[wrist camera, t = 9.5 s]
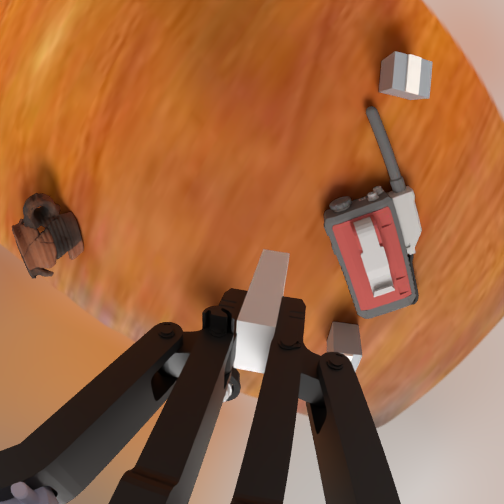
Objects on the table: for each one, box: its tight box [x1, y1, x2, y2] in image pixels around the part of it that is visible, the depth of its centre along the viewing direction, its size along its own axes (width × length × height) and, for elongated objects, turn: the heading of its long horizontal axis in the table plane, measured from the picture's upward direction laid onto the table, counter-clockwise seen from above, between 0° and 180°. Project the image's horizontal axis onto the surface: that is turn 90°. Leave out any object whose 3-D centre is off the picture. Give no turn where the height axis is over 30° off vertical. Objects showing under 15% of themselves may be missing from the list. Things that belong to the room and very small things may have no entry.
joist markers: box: [327, 51, 432, 371], centre depth 26 cm, size 30×3×5 cm, turn 175°
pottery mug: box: [12, 193, 84, 278], centre depth 33 cm, size 12×9×8 cm
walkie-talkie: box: [324, 106, 422, 319], centre depth 26 cm, size 9×4×20 cm
